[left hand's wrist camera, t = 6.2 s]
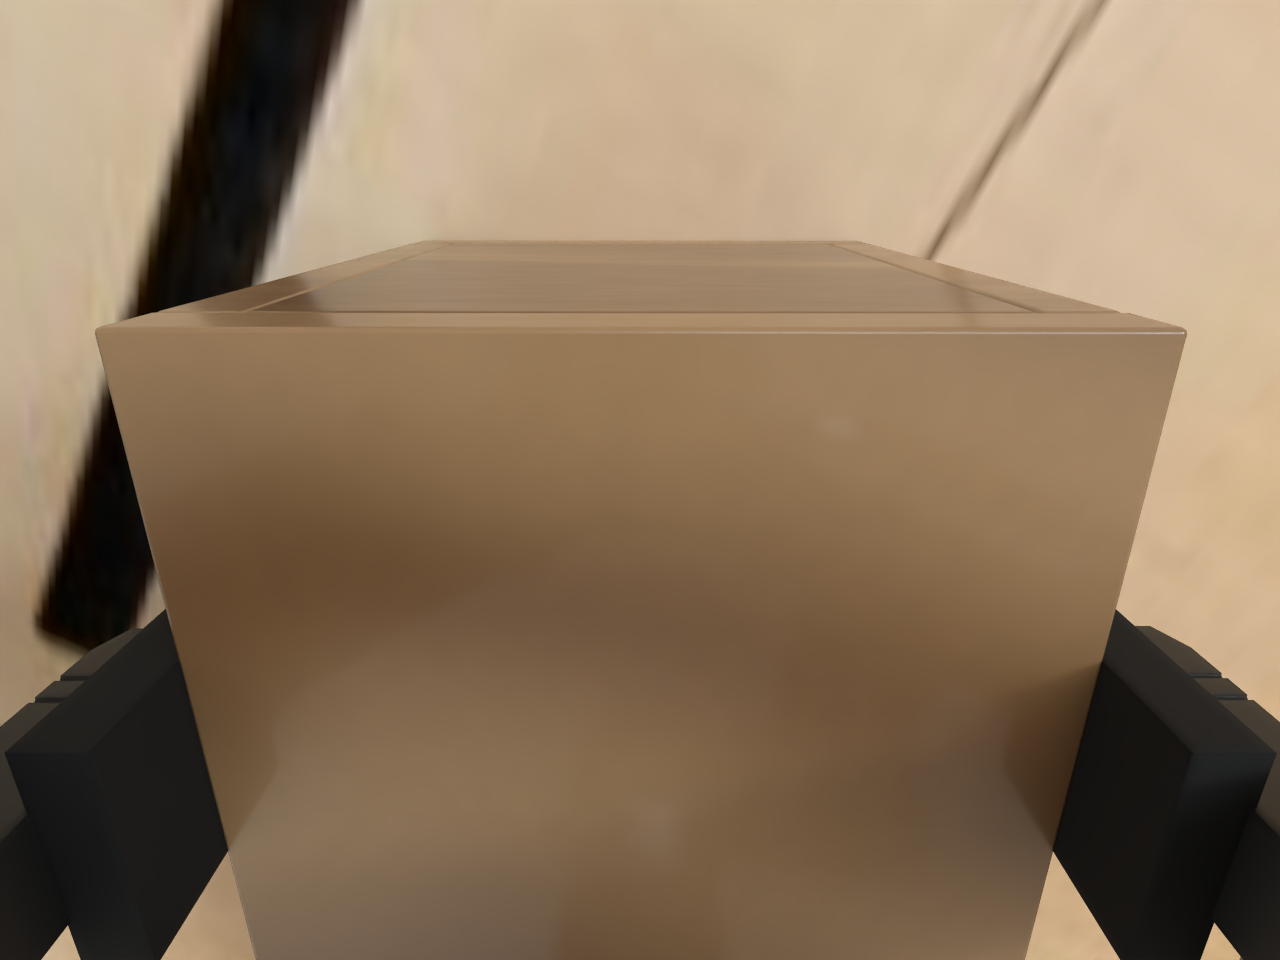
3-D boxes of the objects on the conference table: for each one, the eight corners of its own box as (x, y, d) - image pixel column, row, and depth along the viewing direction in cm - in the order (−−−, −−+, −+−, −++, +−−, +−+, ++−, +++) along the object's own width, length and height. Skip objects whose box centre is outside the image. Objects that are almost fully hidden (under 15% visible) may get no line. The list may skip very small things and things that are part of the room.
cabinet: (794, 897, 24) (907, 1418, 14) (485, 896, 25) (372, 1418, 14) (860, 240, 17) (1191, 328, 7) (421, 240, 17) (90, 327, 7)
